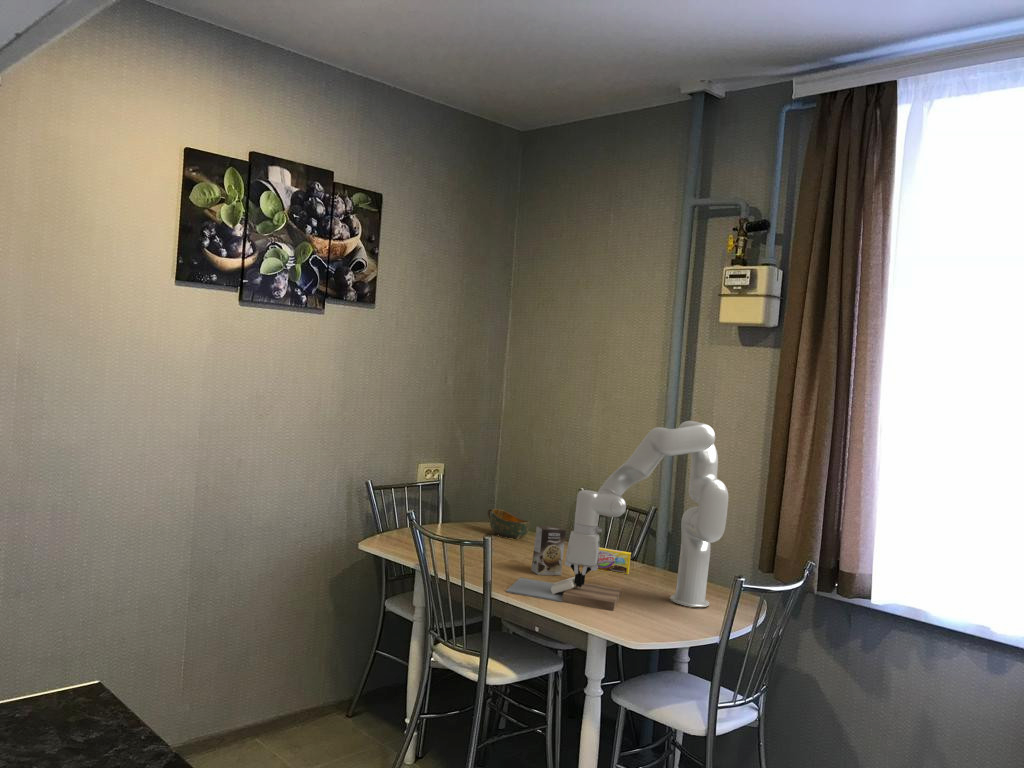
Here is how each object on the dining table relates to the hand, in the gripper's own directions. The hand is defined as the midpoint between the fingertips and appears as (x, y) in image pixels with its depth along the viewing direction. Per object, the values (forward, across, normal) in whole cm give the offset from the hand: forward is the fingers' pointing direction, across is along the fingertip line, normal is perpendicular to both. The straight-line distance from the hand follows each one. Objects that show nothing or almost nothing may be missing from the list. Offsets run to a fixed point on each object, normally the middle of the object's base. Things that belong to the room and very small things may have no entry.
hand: (579, 586), depth 267 cm
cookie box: (+4, +15, -24) cm, 29 cm away
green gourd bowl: (+4, +43, -76) cm, 88 cm away
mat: (+4, +12, 0) cm, 13 cm away
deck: (+3, -5, 0) cm, 6 cm away
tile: (+1, +4, 0) cm, 5 cm away
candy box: (+4, -4, -42) cm, 42 cm away
